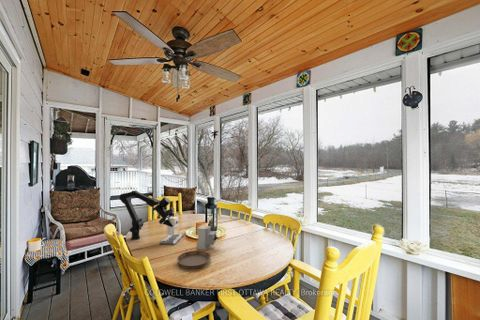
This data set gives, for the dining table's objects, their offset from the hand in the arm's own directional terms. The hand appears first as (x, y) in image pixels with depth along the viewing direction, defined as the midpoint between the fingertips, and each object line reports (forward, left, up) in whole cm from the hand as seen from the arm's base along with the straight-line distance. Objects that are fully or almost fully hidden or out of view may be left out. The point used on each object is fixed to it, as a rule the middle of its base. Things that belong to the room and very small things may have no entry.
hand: (174, 225), depth 175 cm
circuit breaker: (+23, +24, -12) cm, 36 cm away
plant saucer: (+44, +12, -12) cm, 48 cm away
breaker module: (-1, -1, -7) cm, 7 cm away
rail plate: (-1, -1, -12) cm, 12 cm away
